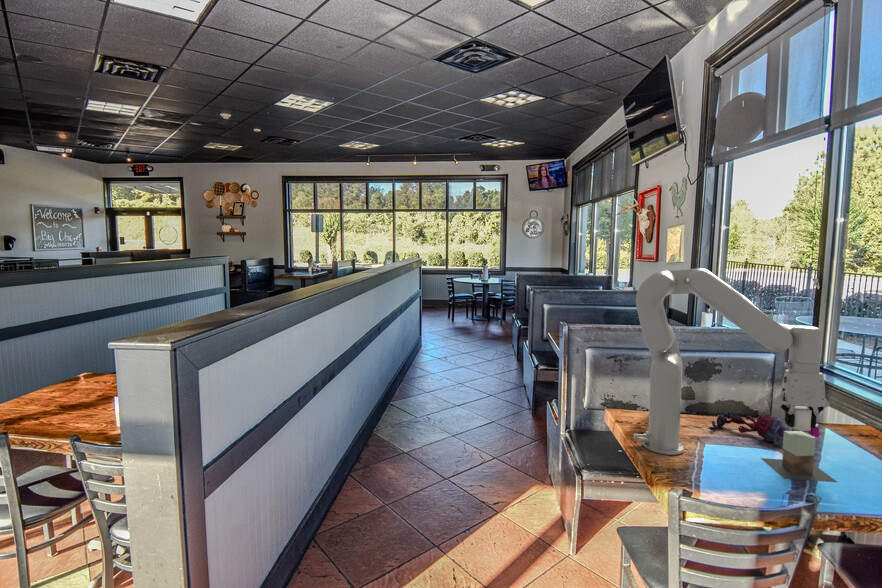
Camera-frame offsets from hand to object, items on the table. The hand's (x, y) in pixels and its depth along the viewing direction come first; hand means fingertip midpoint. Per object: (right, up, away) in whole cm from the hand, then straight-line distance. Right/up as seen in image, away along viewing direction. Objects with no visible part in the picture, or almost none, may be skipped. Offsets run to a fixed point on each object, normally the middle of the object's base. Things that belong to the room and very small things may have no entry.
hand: (800, 425), depth 144 cm
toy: (+6, -12, +25) cm, 29 cm away
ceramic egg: (0, -1, 0) cm, 1 cm away
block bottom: (0, -14, +1) cm, 14 cm away
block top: (0, -8, +1) cm, 8 cm away
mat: (0, -14, +1) cm, 14 cm away
